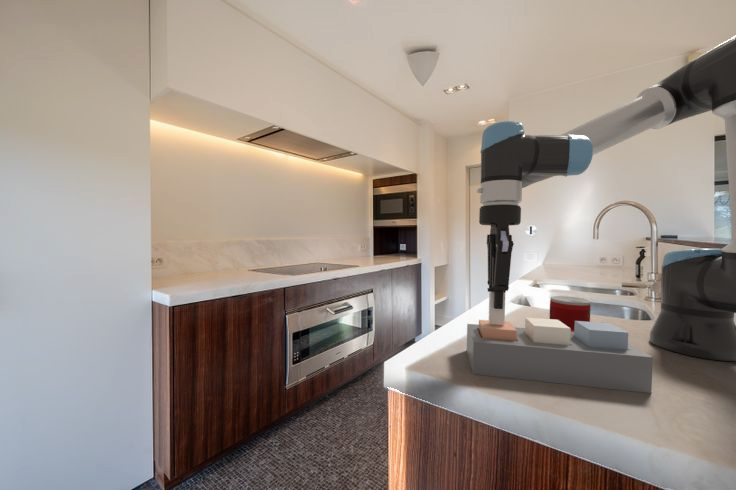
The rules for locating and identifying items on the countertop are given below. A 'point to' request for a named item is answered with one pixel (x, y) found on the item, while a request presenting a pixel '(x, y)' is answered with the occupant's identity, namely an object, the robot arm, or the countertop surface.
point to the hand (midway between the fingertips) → (496, 323)
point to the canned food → (569, 310)
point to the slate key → (601, 335)
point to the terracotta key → (497, 331)
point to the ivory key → (547, 331)
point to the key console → (559, 362)
